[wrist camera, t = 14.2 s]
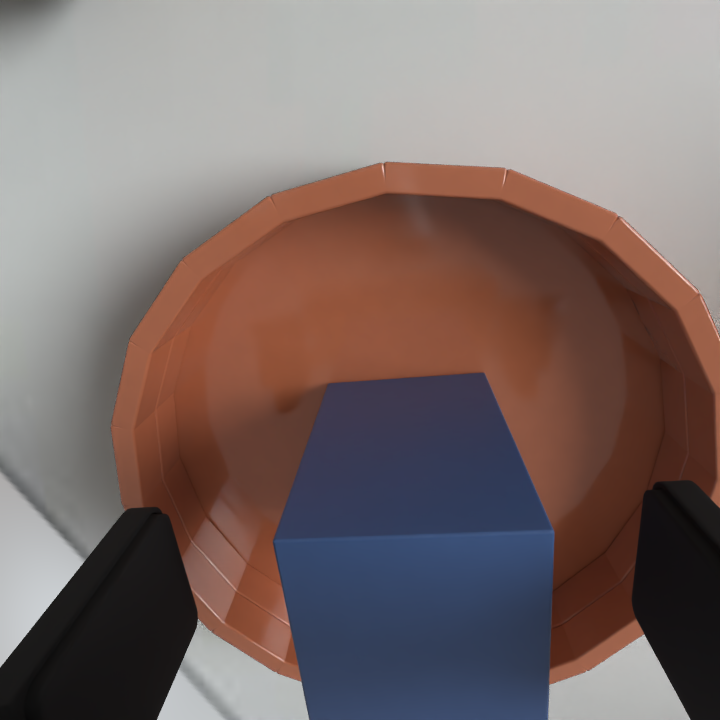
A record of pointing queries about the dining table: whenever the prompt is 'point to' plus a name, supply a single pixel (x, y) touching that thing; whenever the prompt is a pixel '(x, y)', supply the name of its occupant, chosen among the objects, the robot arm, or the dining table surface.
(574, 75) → the dining table surface
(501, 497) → the blue block
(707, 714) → the robot arm
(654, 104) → the dining table surface
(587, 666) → the terracotta bowl
